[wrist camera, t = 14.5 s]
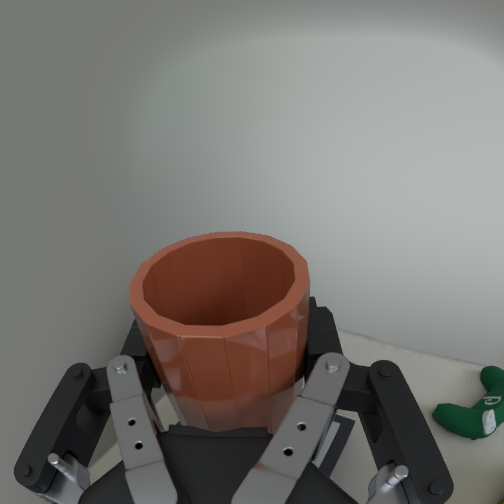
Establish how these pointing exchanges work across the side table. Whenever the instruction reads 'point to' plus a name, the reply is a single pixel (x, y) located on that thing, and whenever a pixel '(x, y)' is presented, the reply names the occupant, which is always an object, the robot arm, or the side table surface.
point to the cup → (225, 327)
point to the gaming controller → (477, 409)
